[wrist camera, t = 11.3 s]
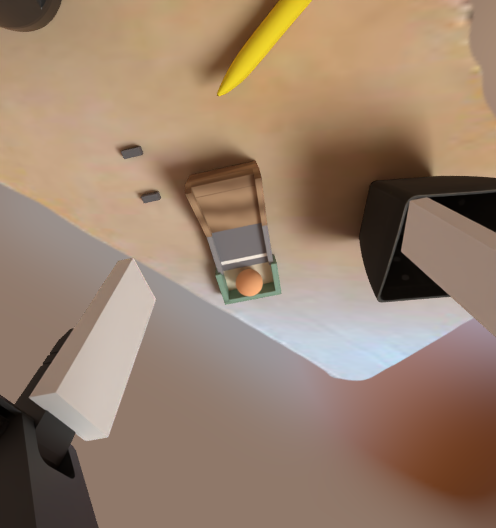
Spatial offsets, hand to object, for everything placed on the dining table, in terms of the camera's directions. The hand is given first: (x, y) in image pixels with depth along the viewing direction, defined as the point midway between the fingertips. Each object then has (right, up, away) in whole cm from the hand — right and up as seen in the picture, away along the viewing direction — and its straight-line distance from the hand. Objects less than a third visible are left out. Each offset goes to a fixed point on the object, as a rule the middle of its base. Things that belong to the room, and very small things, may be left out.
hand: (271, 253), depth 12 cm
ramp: (-5, +12, +36) cm, 38 cm away
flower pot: (+29, +11, +40) cm, 50 cm away
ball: (-1, -5, +43) cm, 44 cm away
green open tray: (-1, -3, +46) cm, 47 cm away
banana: (+1, +31, +24) cm, 39 cm away
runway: (-3, +4, +41) cm, 42 cm away
